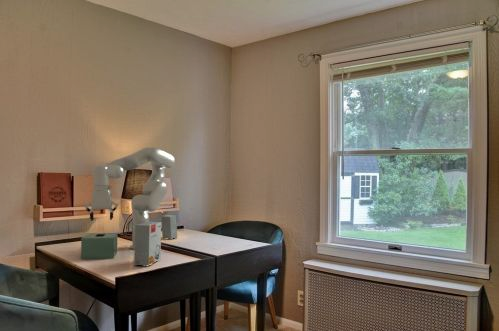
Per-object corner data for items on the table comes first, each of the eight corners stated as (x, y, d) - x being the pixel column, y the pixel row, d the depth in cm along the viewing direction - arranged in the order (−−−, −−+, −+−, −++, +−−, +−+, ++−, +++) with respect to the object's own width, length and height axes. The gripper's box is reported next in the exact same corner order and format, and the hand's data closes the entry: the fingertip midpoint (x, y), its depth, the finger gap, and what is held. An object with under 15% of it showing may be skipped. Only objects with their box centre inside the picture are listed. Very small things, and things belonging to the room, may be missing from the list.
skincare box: (177, 238, 270) (177, 215, 270) (170, 240, 264) (170, 216, 264) (168, 237, 275) (168, 214, 275) (160, 238, 269) (161, 215, 269)
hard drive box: (148, 267, 190) (149, 225, 191) (133, 266, 192) (134, 225, 192) (161, 260, 206) (161, 221, 206) (147, 259, 207) (147, 221, 207)
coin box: (117, 252, 223) (117, 232, 223) (113, 258, 208) (113, 237, 208) (87, 253, 220) (87, 233, 220) (81, 259, 204) (81, 238, 205)
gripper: (118, 187, 220) (119, 218, 220) (85, 188, 216) (86, 219, 217) (117, 188, 213) (117, 220, 213) (82, 189, 209) (83, 221, 209)
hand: (101, 219), depth 215 cm, fingers open, 9 cm apart
